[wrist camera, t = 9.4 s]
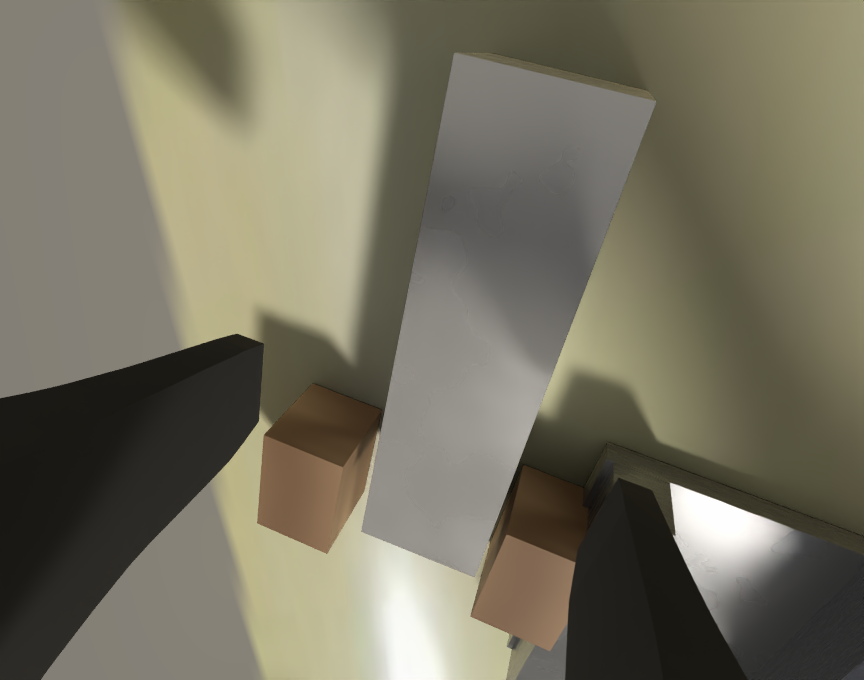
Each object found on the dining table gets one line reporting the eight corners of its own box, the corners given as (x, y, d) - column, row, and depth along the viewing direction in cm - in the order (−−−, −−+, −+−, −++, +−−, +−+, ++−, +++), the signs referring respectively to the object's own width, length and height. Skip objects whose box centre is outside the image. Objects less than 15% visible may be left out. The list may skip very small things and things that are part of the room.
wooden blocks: (602, 495, 17) (598, 572, 14) (559, 572, 19) (549, 651, 17) (312, 383, 19) (263, 435, 16) (302, 465, 21) (257, 523, 18)
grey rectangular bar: (647, 90, 12) (656, 101, 9) (498, 492, 19) (474, 577, 16) (493, 52, 13) (454, 52, 10) (401, 456, 19) (361, 531, 16)
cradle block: (930, 561, 15) (989, 657, 12) (743, 729, 20) (759, 820, 18) (607, 441, 16) (605, 508, 14) (510, 628, 21) (496, 699, 19)
